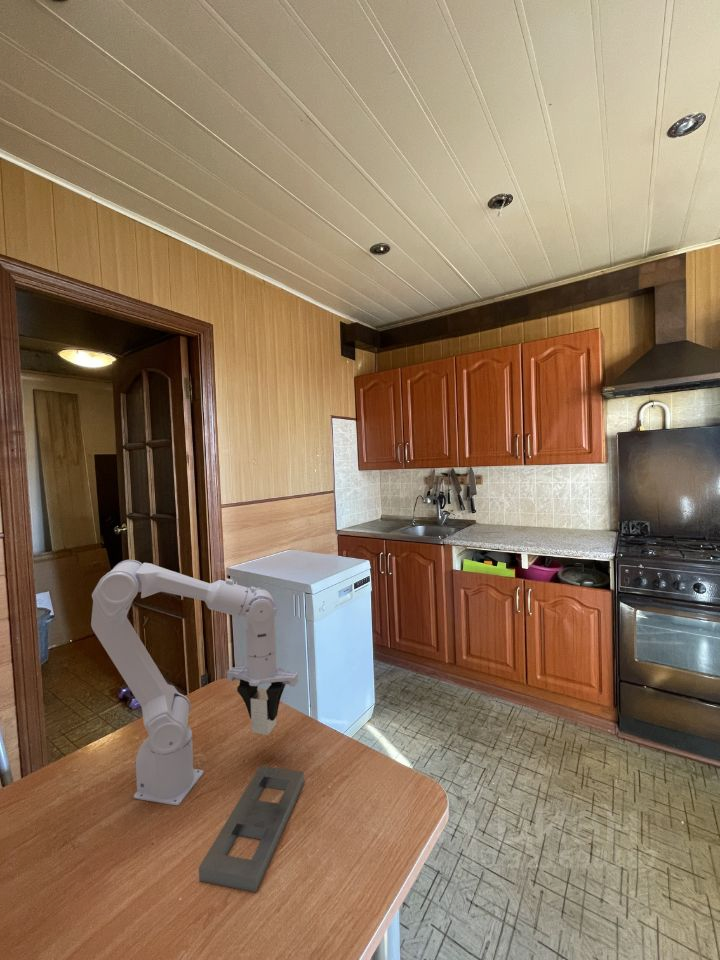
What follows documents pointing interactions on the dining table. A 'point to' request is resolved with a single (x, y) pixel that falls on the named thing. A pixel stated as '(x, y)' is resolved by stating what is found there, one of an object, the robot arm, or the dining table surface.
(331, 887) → the dining table surface
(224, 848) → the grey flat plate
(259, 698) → the grey square peg
